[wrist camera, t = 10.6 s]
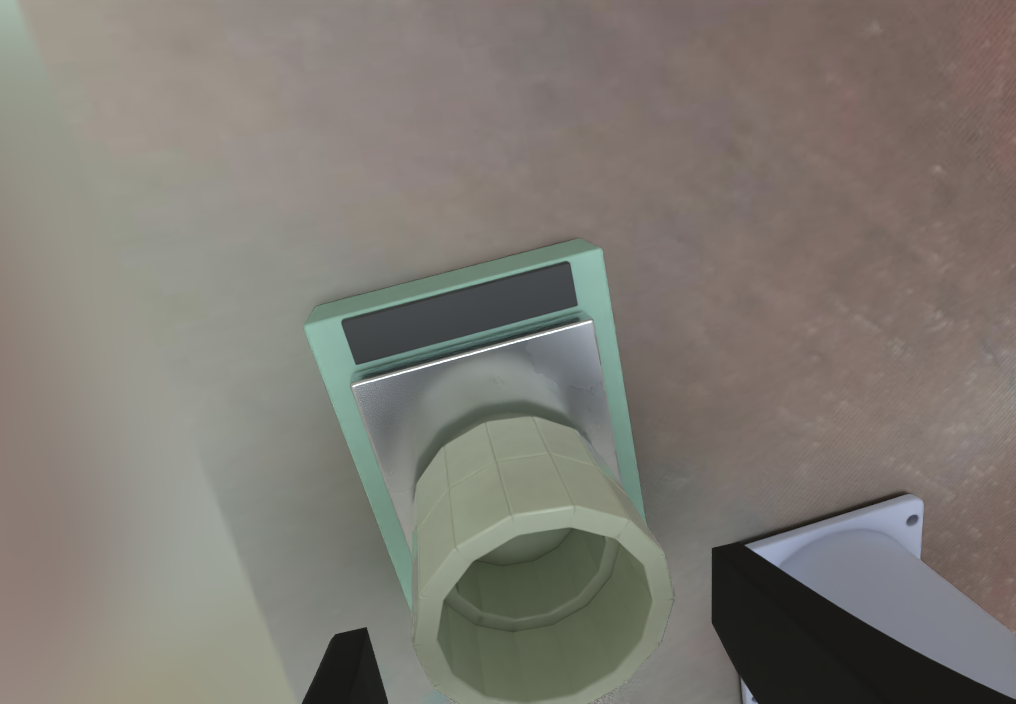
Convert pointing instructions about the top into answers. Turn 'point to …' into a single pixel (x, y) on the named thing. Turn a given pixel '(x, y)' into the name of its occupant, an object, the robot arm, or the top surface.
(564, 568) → the green faceted cup
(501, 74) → the top surface
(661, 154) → the top surface
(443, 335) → the scale
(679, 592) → the top surface
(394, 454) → the pan
